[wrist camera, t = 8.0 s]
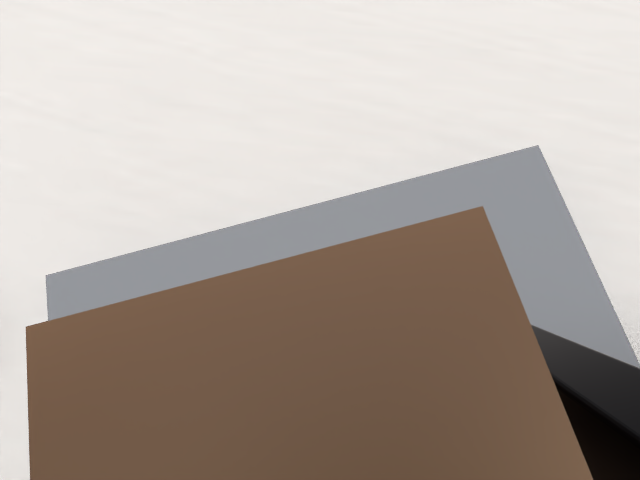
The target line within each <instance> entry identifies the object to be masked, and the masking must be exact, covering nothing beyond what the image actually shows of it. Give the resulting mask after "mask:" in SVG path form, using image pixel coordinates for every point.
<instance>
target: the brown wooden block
mask: <svg viewBox="0 0 640 480" xmlns="http://www.w3.org/2000/svg"><path fill="white" fill-rule="evenodd" d="M26 351H27V385H28V420H29V455H30V480H593V478H592V475H591V473H590V470H589V468H588V465H587V463H586V460H585V458H584V455H583V453H582V450H581V448H580V445H579V443H578V440H577V438H576V435H575V433H574V431H573V428H572V426H571V423H570V421H569V418H568V416H567V413H566V411H565V408H564V406H563V403H562V401H561V398H560V396H559V393H558V391H557V388H556V386H555V383H554V381H553V379H552V376H551V374H550V371H549V369H548V366H547V364H546V361H545V359H544V356H543V354H542V351H541V349H540V346H539V344H538V341H537V339H536V336H535V334H534V331H533V329H532V326H531V324H530V322H529V319H528V317H527V314H526V312H525V309H524V307H523V304H522V302H521V299H520V297H519V294H518V292H517V289H516V287H515V284H514V282H513V279H512V277H511V274H510V272H509V270H508V267H507V265H506V262H505V260H504V257H503V255H502V252H501V250H500V247H499V245H498V242H497V240H496V237H495V235H494V232H493V230H492V227H491V225H490V222H489V220H488V218H487V215H486V213H485V210H484V208H483V206H480V207H477V208H473V209H469V210H465V211H462V212H458V213H454V214H450V215H446V216H443V217H439V218H435V219H431V220H428V221H424V222H420V223H416V224H412V225H409V226H405V227H401V228H397V229H394V230H390V231H386V232H382V233H378V234H375V235H371V236H367V237H363V238H360V239H356V240H352V241H348V242H344V243H341V244H337V245H333V246H329V247H326V248H322V249H318V250H314V251H310V252H307V253H303V254H299V255H295V256H292V257H288V258H284V259H280V260H276V261H273V262H269V263H265V264H261V265H258V266H254V267H250V268H246V269H242V270H239V271H235V272H231V273H227V274H224V275H220V276H216V277H212V278H208V279H205V280H201V281H197V282H193V283H189V284H186V285H182V286H178V287H174V288H171V289H167V290H163V291H159V292H155V293H152V294H148V295H144V296H140V297H137V298H133V299H129V300H125V301H121V302H118V303H114V304H110V305H106V306H103V307H99V308H95V309H91V310H87V311H84V312H80V313H76V314H72V315H69V316H65V317H61V318H57V319H53V320H50V321H46V322H42V323H38V324H35V325H31V326H27V327H26Z"/></svg>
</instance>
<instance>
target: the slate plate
mask: <svg viewBox="0 0 640 480" xmlns="http://www.w3.org/2000/svg"><path fill="white" fill-rule="evenodd" d="M480 206H483V208H484V210H485V213H486V215H487V218H488V220H489V222H490V225H491V227H492V230H493V232H494V235H495V237H496V240H497V242H498V245H499V247H500V250H501V252H502V255H503V257H504V260H505V262H506V265H507V267H508V270H509V272H510V274H511V277H512V279H513V282H514V284H515V287H516V289H517V292H518V294H519V297H520V299H521V302H522V304H523V307H524V309H525V312H526V314H527V317H528V319H529V322H530V324H531V325H534V326H536V327H539V328H541V329H544V330H546V331H549V332H551V333H554V334H556V335H559V336H561V337H564V338H566V339H569V340H571V341H574V342H576V343H579V344H581V345H584V346H586V347H589V348H591V349H594V350H596V351H599V352H601V353H604V354H606V355H609V356H611V357H614V358H616V359H619V360H621V361H624V362H626V363H629V364H631V365H634V366H636V367H639V368H640V364H639V362H638V360H637V358H636V356H635V354H634V351H633V349H632V347H631V345H630V343H629V341H628V338H627V336H626V334H625V332H624V330H623V328H622V325H621V323H620V321H619V319H618V317H617V315H616V312H615V310H614V308H613V306H612V304H611V302H610V299H609V297H608V295H607V293H606V291H605V289H604V286H603V284H602V282H601V280H600V278H599V276H598V273H597V271H596V269H595V267H594V265H593V263H592V260H591V258H590V256H589V254H588V252H587V250H586V247H585V245H584V243H583V241H582V239H581V237H580V235H579V232H578V230H577V228H576V226H575V224H574V222H573V219H572V217H571V215H570V213H569V211H568V209H567V206H566V204H565V202H564V200H563V198H562V196H561V193H560V191H559V189H558V187H557V185H556V183H555V180H554V178H553V176H552V174H551V172H550V170H549V167H548V165H547V163H546V161H545V159H544V157H543V154H542V152H541V150H540V148H539V146H538V145H537V146H533V147H530V148H526V149H522V150H518V151H514V152H511V153H507V154H503V155H499V156H496V157H492V158H488V159H484V160H480V161H477V162H473V163H469V164H465V165H461V166H458V167H454V168H450V169H446V170H443V171H439V172H435V173H431V174H427V175H424V176H420V177H416V178H412V179H409V180H405V181H401V182H397V183H393V184H390V185H386V186H382V187H378V188H375V189H371V190H367V191H363V192H359V193H356V194H352V195H348V196H344V197H340V198H337V199H333V200H329V201H325V202H322V203H318V204H314V205H310V206H306V207H303V208H299V209H295V210H291V211H288V212H284V213H280V214H276V215H272V216H269V217H265V218H261V219H257V220H254V221H250V222H246V223H242V224H238V225H235V226H231V227H227V228H223V229H219V230H216V231H212V232H208V233H204V234H201V235H197V236H193V237H189V238H185V239H182V240H178V241H174V242H170V243H167V244H163V245H159V246H155V247H151V248H148V249H144V250H140V251H136V252H133V253H129V254H125V255H121V256H117V257H114V258H110V259H106V260H102V261H98V262H95V263H91V264H87V265H83V266H80V267H76V268H72V269H68V270H64V271H61V272H57V273H53V274H49V275H46V290H47V308H48V321H50V320H53V319H57V318H61V317H65V316H69V315H72V314H76V313H80V312H84V311H87V310H91V309H95V308H99V307H103V306H106V305H110V304H114V303H118V302H121V301H125V300H129V299H133V298H137V297H140V296H144V295H148V294H152V293H155V292H159V291H163V290H167V289H171V288H174V287H178V286H182V285H186V284H189V283H193V282H197V281H201V280H205V279H208V278H212V277H216V276H220V275H224V274H227V273H231V272H235V271H239V270H242V269H246V268H250V267H254V266H258V265H261V264H265V263H269V262H273V261H276V260H280V259H284V258H288V257H292V256H295V255H299V254H303V253H307V252H310V251H314V250H318V249H322V248H326V247H329V246H333V245H337V244H341V243H344V242H348V241H352V240H356V239H360V238H363V237H367V236H371V235H375V234H378V233H382V232H386V231H390V230H394V229H397V228H401V227H405V226H409V225H412V224H416V223H420V222H424V221H428V220H431V219H435V218H439V217H443V216H446V215H450V214H454V213H458V212H462V211H465V210H469V209H473V208H477V207H480Z"/></svg>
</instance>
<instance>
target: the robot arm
mask: <svg viewBox="0 0 640 480" xmlns="http://www.w3.org/2000/svg"><path fill="white" fill-rule="evenodd" d="M531 326H532V329H533V331H534V334H535V336H536V339H537V341H538V344H539V346H540V349H541V351H542V354H543V356H544V359H545V361H546V364H547V366H548V369H549V371H550V374H551V376H552V379H553V381H554V383H555V386H556V388H557V391H558V393H559V396H560V398H561V401H562V403H563V406H564V408H565V411H566V413H567V416H568V418H569V421H570V423H571V426H572V428H573V431H574V433H575V435H576V438H577V440H578V443H579V445H580V448H581V450H582V453H583V455H584V458H585V460H586V463H587V465H588V468H589V470H590V473H591V475H592V478H593V480H640V368H639V367H636V366H634V365H631V364H629V363H626V362H624V361H621V360H619V359H616V358H614V357H611V356H609V355H606V354H604V353H601V352H599V351H596V350H594V349H591V348H589V347H586V346H584V345H581V344H579V343H576V342H574V341H571V340H569V339H566V338H564V337H561V336H559V335H556V334H554V333H551V332H549V331H546V330H544V329H541V328H539V327H536V326H534V325H531Z"/></svg>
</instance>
